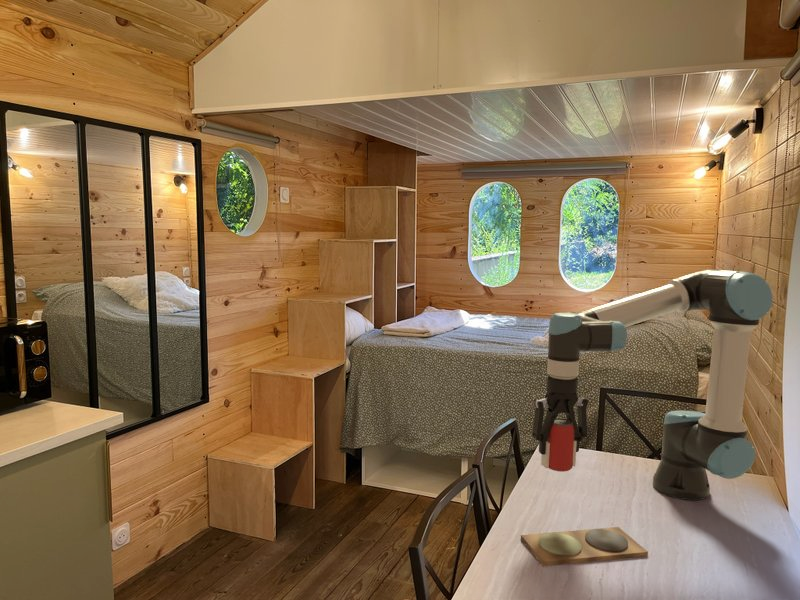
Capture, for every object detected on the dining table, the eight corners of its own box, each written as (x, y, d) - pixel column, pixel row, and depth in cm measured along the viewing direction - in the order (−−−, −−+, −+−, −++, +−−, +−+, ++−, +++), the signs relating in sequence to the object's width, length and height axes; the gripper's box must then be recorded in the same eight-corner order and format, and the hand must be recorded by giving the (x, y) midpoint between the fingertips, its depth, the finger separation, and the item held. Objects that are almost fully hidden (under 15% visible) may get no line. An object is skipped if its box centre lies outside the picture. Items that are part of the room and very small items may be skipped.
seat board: (618, 530, 152) (618, 524, 152) (647, 555, 140) (648, 549, 140) (520, 539, 146) (521, 532, 146) (543, 566, 135) (543, 559, 134)
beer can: (573, 473, 150) (575, 426, 149) (545, 471, 151) (548, 424, 150) (571, 463, 156) (573, 418, 155) (544, 461, 158) (547, 416, 156)
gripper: (590, 370, 157) (585, 457, 160) (519, 373, 153) (516, 462, 156) (606, 377, 150) (601, 468, 153) (532, 380, 146) (528, 473, 148)
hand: (558, 465), depth 154 cm, fingers closed on beer can, 6 cm apart
